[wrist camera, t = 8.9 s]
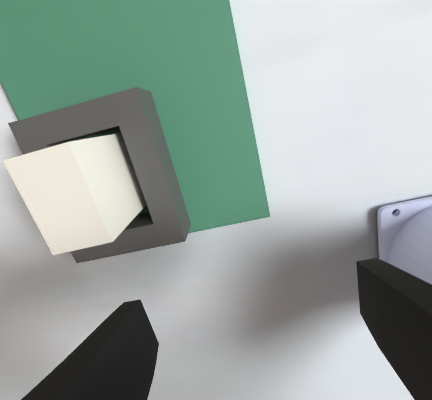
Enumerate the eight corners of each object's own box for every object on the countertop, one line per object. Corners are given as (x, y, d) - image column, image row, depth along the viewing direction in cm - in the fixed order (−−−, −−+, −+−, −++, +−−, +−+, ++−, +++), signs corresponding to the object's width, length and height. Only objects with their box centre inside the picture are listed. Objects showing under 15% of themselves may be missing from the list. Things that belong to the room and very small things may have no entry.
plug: (127, 131, 15) (68, 141, 10) (151, 198, 17) (112, 241, 11) (83, 143, 16) (2, 160, 10) (111, 208, 17) (53, 255, 11)
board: (213, -79, 12) (209, -136, 9) (269, 213, 17) (277, 233, 14) (-28, 7, 14) (-93, -20, 11) (86, 251, 19) (61, 275, 16)
